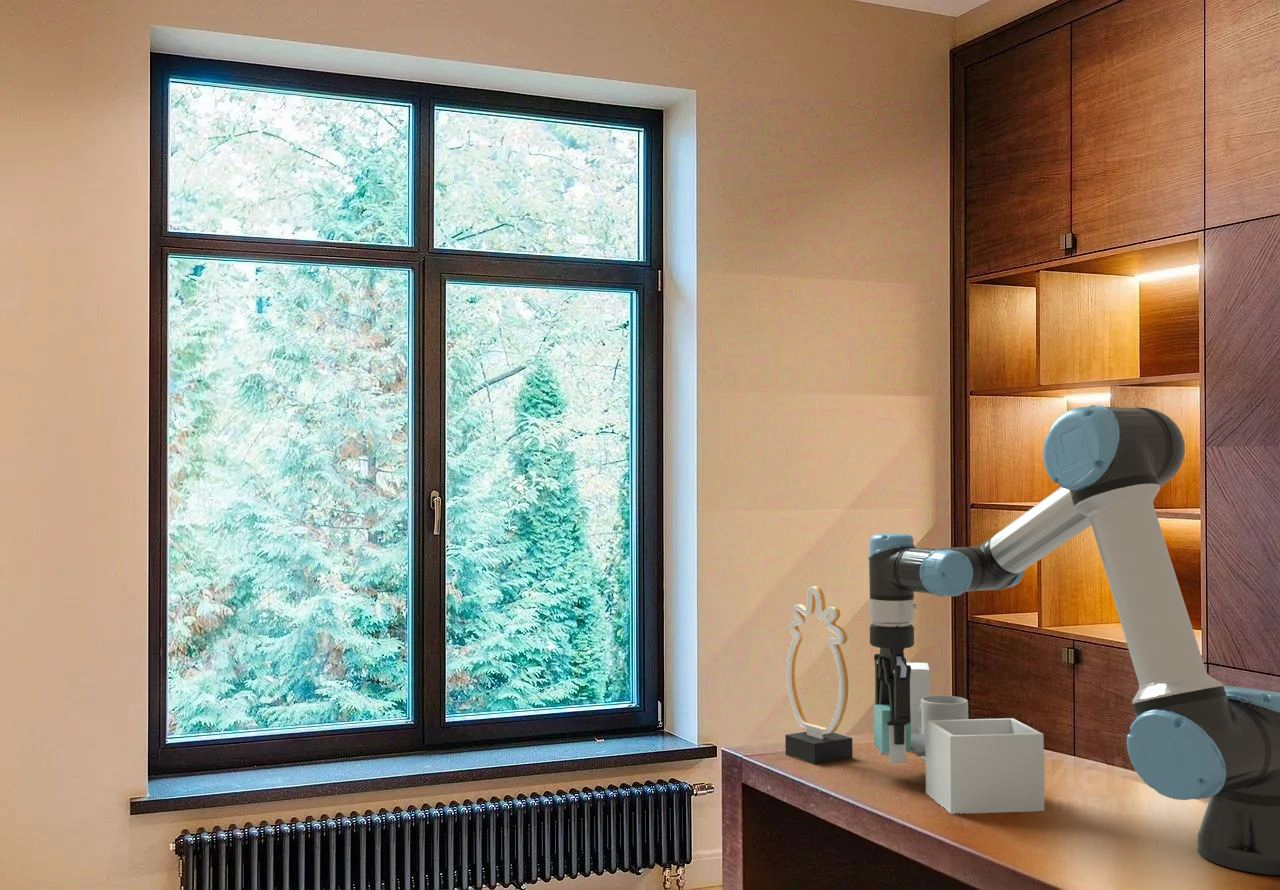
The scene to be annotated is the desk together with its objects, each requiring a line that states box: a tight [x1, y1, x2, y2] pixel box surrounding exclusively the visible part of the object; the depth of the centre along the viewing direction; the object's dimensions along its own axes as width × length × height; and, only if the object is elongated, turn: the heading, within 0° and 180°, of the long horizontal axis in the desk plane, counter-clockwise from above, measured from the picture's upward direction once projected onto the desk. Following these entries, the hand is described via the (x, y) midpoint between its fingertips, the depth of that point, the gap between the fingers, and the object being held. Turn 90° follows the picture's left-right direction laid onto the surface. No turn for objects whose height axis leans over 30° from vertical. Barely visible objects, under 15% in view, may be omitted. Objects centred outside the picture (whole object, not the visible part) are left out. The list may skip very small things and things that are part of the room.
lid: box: [873, 704, 926, 757], centre depth 210 cm, size 13×21×8 cm, turn 95°
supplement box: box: [906, 662, 931, 735], centre depth 238 cm, size 9×9×15 cm
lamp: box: [785, 585, 854, 765], centre depth 227 cm, size 17×9×32 cm, turn 30°
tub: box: [925, 717, 1045, 815], centre depth 195 cm, size 12×15×12 cm
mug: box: [918, 694, 969, 762], centre depth 225 cm, size 12×8×11 cm
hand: (892, 758), depth 209 cm, fingers closed on lid, 5 cm apart
